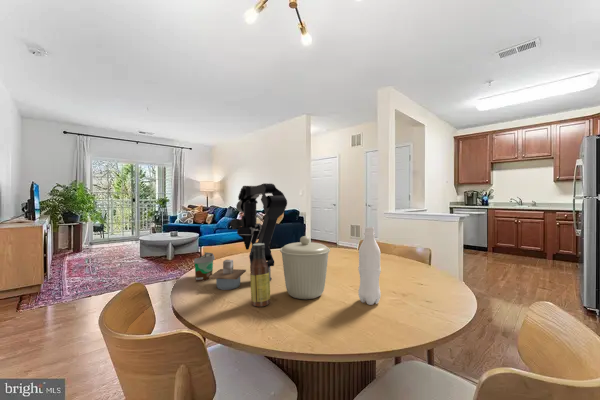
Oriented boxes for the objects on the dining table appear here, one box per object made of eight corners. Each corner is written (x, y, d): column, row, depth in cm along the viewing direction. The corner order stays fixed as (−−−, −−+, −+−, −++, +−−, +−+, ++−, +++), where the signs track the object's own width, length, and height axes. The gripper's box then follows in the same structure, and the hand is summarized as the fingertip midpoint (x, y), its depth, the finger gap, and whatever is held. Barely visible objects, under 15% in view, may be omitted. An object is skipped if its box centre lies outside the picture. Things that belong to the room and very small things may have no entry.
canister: (328, 306, 88) (328, 241, 87) (274, 302, 91) (274, 239, 90) (331, 287, 106) (331, 233, 105) (286, 284, 109) (285, 232, 108)
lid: (246, 271, 112) (245, 257, 112) (237, 279, 101) (237, 264, 101) (220, 270, 113) (220, 257, 113) (208, 278, 102) (208, 263, 102)
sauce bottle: (273, 301, 92) (273, 242, 91) (265, 309, 86) (264, 246, 85) (256, 299, 94) (255, 241, 93) (246, 306, 88) (246, 245, 87)
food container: (209, 282, 111) (208, 258, 111) (194, 282, 112) (193, 258, 111) (218, 274, 124) (218, 252, 124) (205, 273, 124) (205, 252, 124)
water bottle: (368, 308, 86) (368, 229, 85) (354, 300, 92) (354, 226, 92) (385, 303, 89) (385, 228, 89) (370, 296, 96) (370, 225, 95)
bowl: (243, 282, 111) (243, 271, 111) (235, 290, 102) (235, 278, 102) (221, 281, 112) (221, 271, 112) (212, 289, 103) (212, 277, 103)
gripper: (239, 211, 133) (239, 243, 134) (225, 214, 115) (225, 251, 115) (261, 212, 132) (262, 243, 133) (250, 214, 114) (251, 252, 114)
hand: (250, 247), depth 124 cm, fingers open, 9 cm apart
